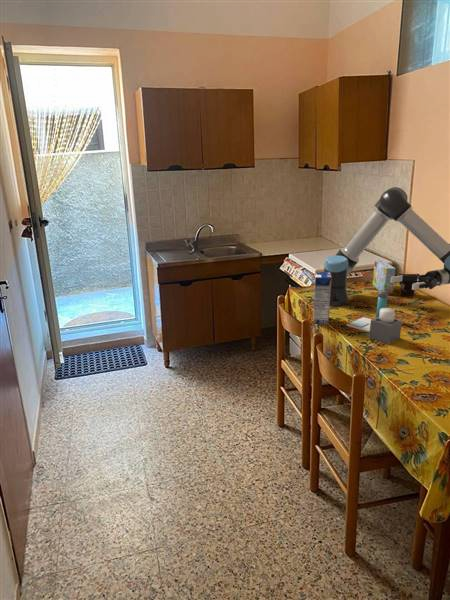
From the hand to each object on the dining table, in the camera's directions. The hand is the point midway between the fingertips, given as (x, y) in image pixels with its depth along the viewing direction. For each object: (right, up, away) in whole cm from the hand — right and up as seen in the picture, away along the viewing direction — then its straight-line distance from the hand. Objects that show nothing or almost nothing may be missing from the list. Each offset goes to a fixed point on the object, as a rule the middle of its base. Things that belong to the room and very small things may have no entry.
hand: (401, 283), depth 208 cm
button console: (-15, -24, -20) cm, 35 cm away
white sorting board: (-17, -19, -7) cm, 27 cm away
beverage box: (-38, -17, 0) cm, 42 cm away
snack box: (+7, -2, +48) cm, 48 cm away
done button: (-15, -17, -23) cm, 32 cm away
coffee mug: (+18, -5, +38) cm, 43 cm away
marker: (-9, -17, +2) cm, 19 cm away
